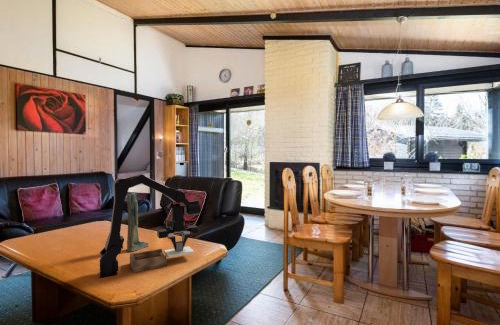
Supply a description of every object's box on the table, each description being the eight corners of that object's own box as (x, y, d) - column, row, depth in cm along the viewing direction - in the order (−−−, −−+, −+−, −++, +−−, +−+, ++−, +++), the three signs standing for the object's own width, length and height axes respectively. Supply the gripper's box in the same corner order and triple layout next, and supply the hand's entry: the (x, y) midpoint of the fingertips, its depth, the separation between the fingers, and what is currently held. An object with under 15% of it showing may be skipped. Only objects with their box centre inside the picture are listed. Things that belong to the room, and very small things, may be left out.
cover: (167, 257, 128) (167, 246, 128) (164, 252, 136) (163, 241, 136) (194, 253, 134) (193, 242, 134) (189, 248, 142) (188, 238, 142)
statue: (149, 246, 156) (147, 191, 155) (131, 252, 146) (130, 193, 146) (140, 244, 159) (139, 190, 158) (123, 250, 150) (121, 193, 149)
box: (132, 272, 120) (132, 262, 120) (130, 263, 131) (129, 253, 131) (166, 266, 127) (166, 256, 126) (161, 257, 137) (161, 248, 137)
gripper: (192, 211, 146) (193, 242, 146) (154, 215, 138) (155, 248, 138) (199, 215, 136) (200, 248, 137) (158, 220, 128) (159, 254, 128)
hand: (178, 249), depth 135 cm, fingers closed on cover, 3 cm apart
